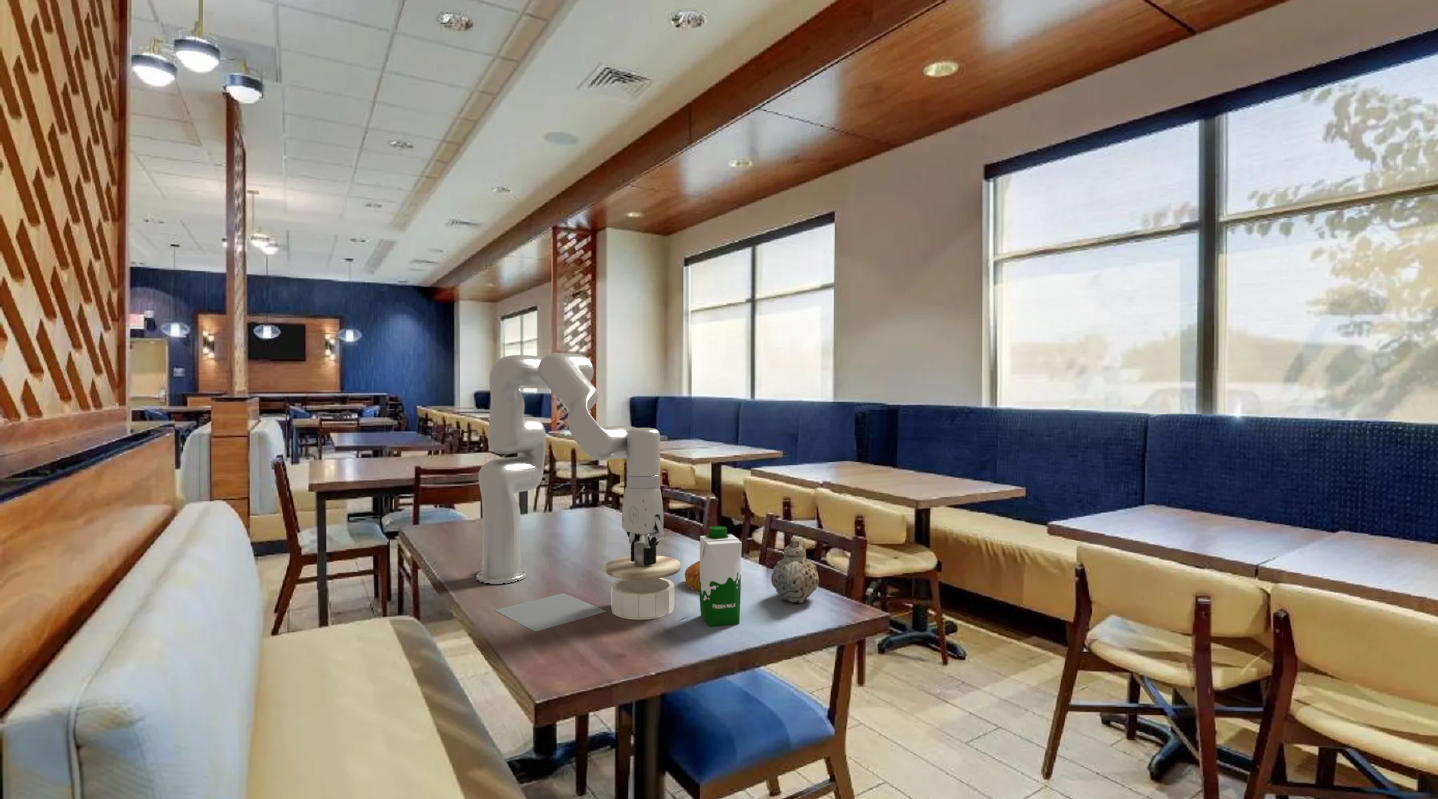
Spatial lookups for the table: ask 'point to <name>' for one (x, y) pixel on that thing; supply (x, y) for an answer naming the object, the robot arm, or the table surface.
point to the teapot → (795, 573)
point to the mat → (549, 611)
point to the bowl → (642, 598)
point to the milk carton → (720, 577)
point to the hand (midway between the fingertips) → (643, 561)
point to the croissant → (693, 576)
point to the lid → (642, 566)
